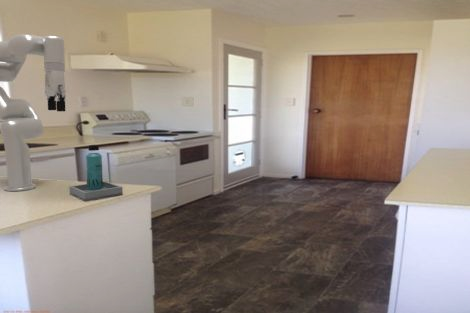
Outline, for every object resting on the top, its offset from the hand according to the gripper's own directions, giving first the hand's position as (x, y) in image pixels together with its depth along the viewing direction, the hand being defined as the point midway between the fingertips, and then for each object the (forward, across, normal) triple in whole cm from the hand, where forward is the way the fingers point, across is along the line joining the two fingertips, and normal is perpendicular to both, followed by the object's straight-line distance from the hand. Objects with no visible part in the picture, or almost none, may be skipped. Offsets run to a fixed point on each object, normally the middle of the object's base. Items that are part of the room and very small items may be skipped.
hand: (56, 110), depth 160 cm
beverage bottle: (+34, +11, +11) cm, 37 cm away
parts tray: (+35, +11, +11) cm, 38 cm away
